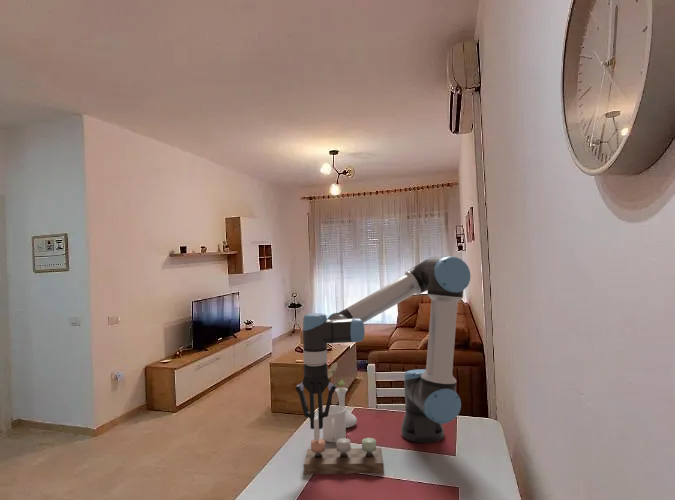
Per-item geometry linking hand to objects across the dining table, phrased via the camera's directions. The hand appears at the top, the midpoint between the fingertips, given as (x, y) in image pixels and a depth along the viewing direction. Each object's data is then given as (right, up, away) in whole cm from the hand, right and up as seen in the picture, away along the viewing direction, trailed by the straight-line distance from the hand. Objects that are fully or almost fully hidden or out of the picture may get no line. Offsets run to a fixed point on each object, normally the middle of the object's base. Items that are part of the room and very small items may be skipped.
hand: (317, 438), depth 128 cm
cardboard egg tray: (+8, -8, -1) cm, 12 cm away
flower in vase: (+8, -9, +30) cm, 33 cm away
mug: (+5, -9, +18) cm, 20 cm away
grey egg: (+8, -5, 0) cm, 10 cm away
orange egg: (0, -5, 0) cm, 5 cm away
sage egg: (+16, -5, -1) cm, 17 cm away
